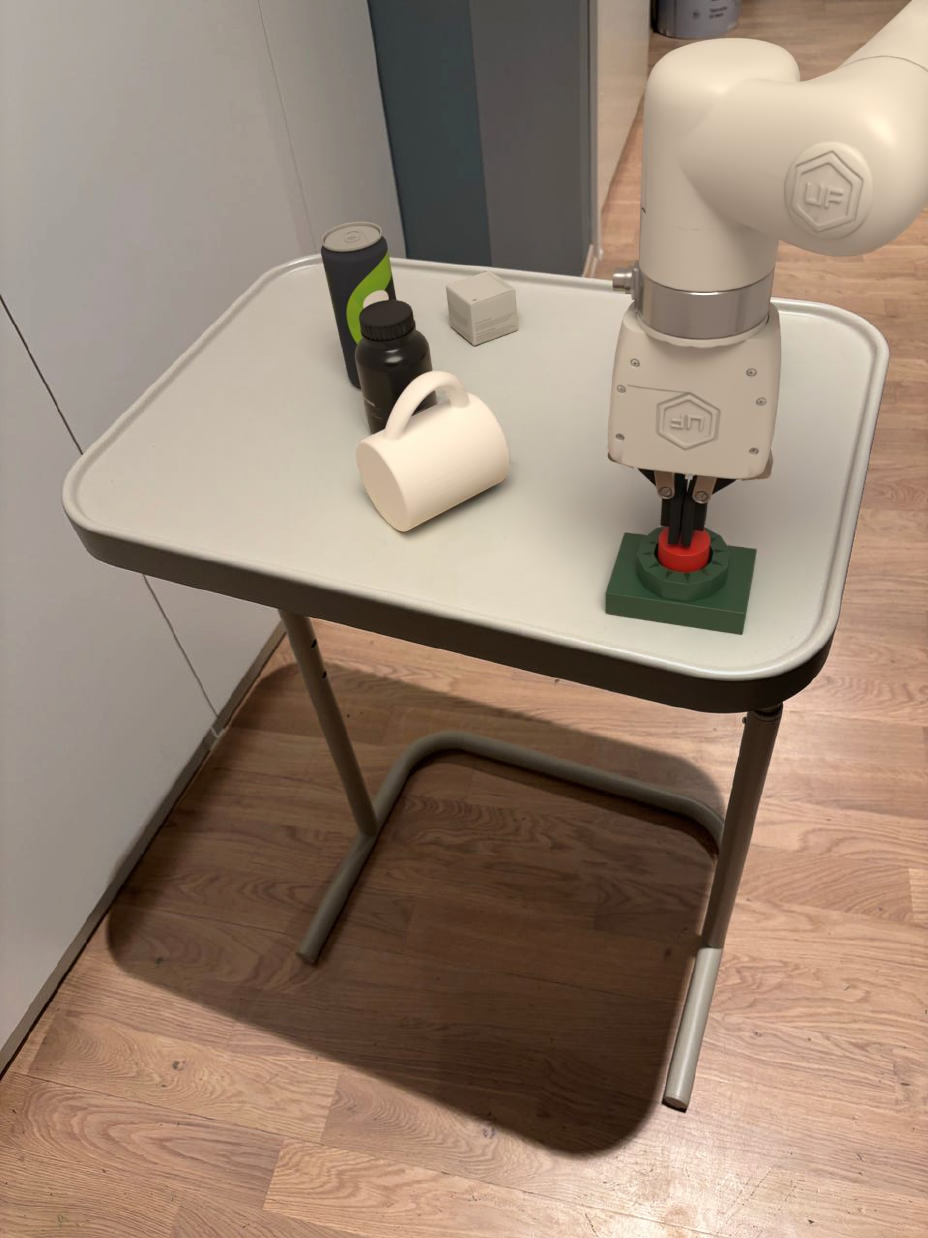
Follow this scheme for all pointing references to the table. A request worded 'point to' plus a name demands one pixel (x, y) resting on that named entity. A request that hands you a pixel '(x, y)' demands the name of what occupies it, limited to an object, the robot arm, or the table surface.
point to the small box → (482, 307)
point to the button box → (681, 585)
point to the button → (684, 552)
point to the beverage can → (355, 280)
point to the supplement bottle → (390, 359)
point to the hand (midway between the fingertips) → (682, 532)
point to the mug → (432, 453)
